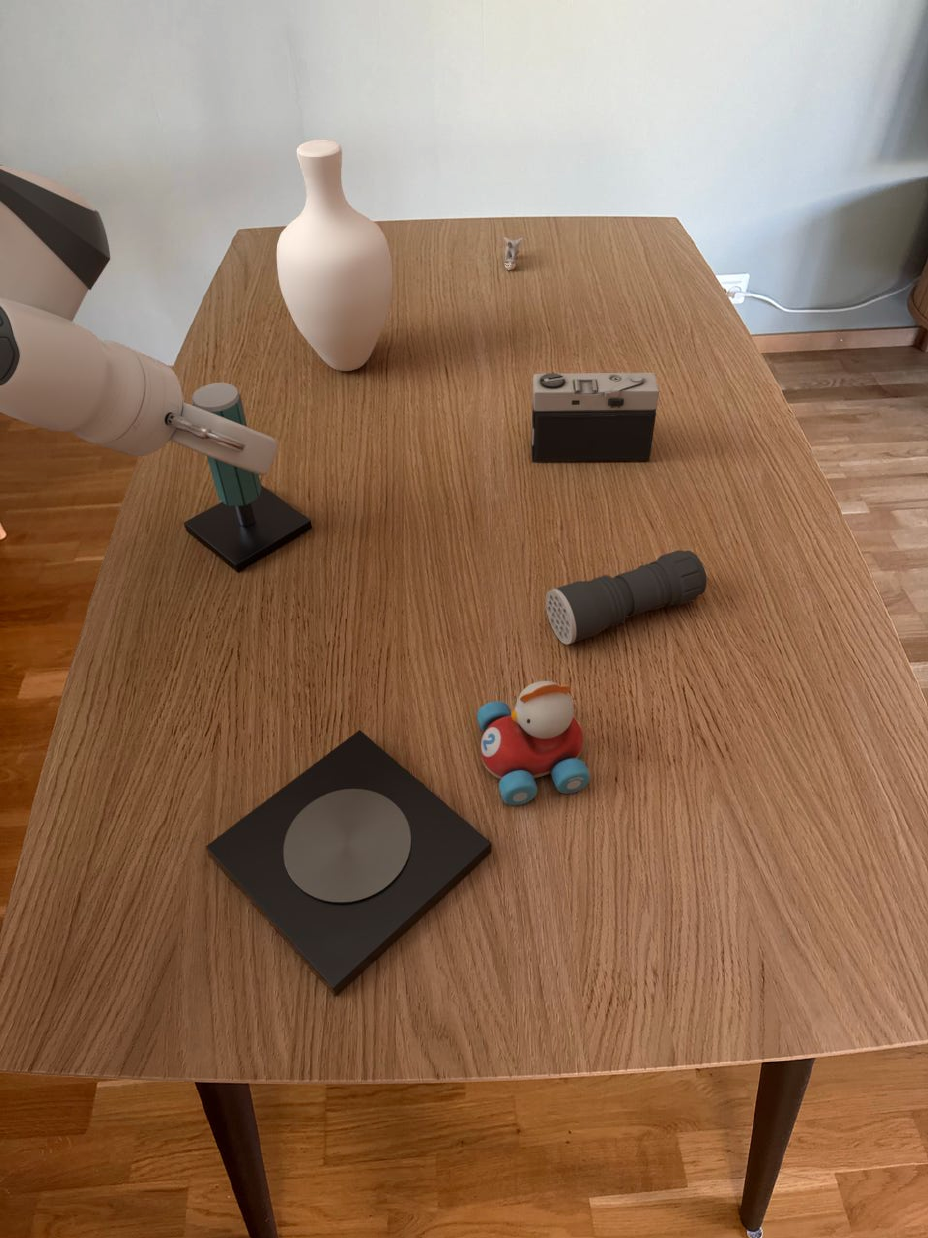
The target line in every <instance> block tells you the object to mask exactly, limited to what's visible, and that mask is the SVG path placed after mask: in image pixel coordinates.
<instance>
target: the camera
mask: <svg viewBox="0 0 928 1238" xmlns="http://www.w3.org/2000/svg"><path fill="white" fill-rule="evenodd" d="M532 376H533V377H532V414H531V443H530V444H531V445H530V446H531V462H535V463H536V462H537V463H538V462H648V461H650V459H651V454H652V453H651V452H652V447H653V440H654V432H655V426H656V425H655V424H656V417H657V410H658V402H659V395H660V389H659V385H658V380H657V377H656V374H655V373H653V372H590V373H589V372H588V373H587V372H586V373H585V372H583V373H582V372H579V373H573V372H572V373H535V374H533V375H532Z"/></svg>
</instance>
